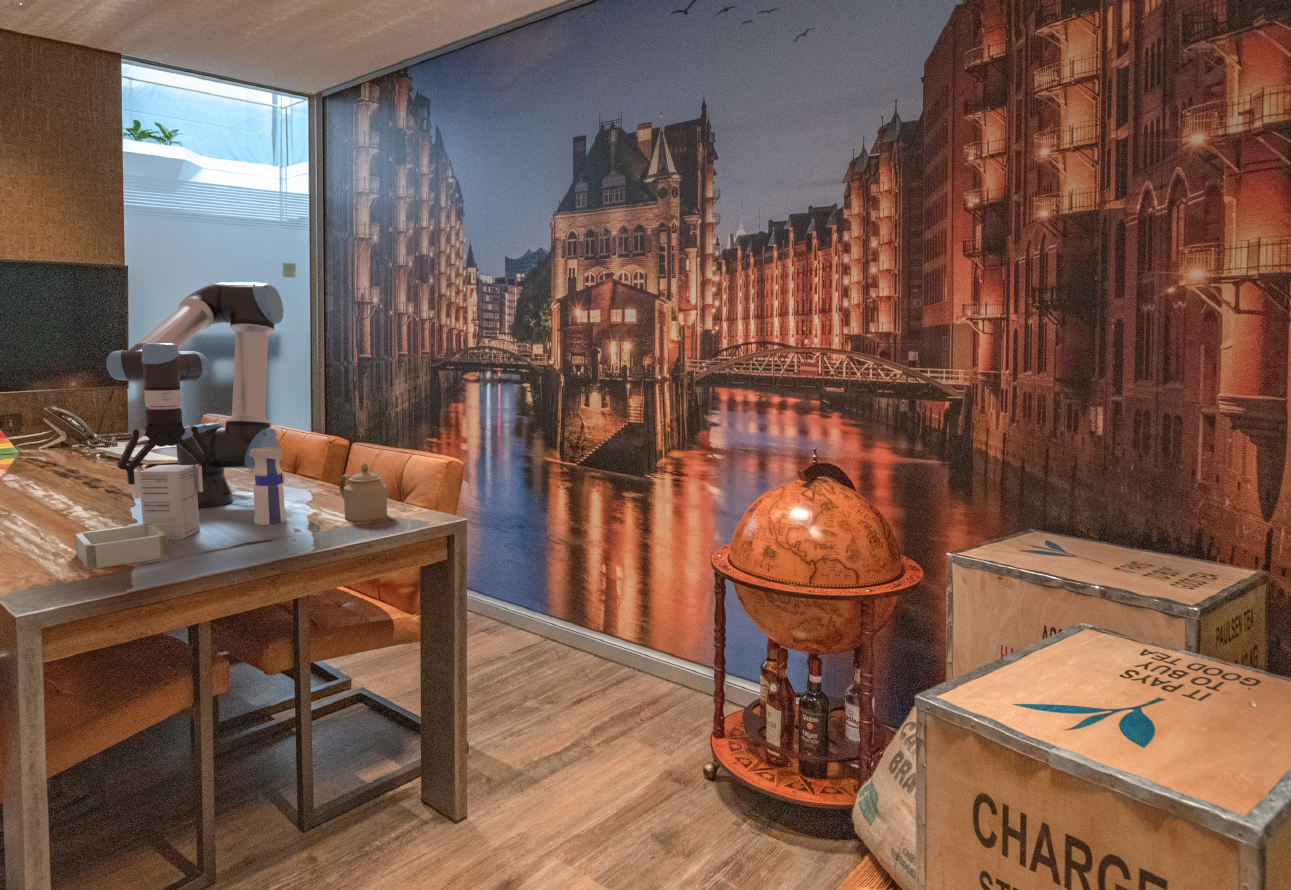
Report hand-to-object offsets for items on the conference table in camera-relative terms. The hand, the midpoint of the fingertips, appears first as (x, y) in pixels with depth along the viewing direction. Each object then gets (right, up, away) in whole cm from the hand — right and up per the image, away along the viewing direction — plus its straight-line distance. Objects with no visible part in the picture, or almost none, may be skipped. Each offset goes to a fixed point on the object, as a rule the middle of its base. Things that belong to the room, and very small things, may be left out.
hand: (169, 494), depth 197 cm
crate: (0, -13, -17) cm, 21 cm away
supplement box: (0, -10, +2) cm, 10 cm away
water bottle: (+17, -8, +17) cm, 25 cm away
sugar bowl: (+38, -8, +23) cm, 45 cm away
